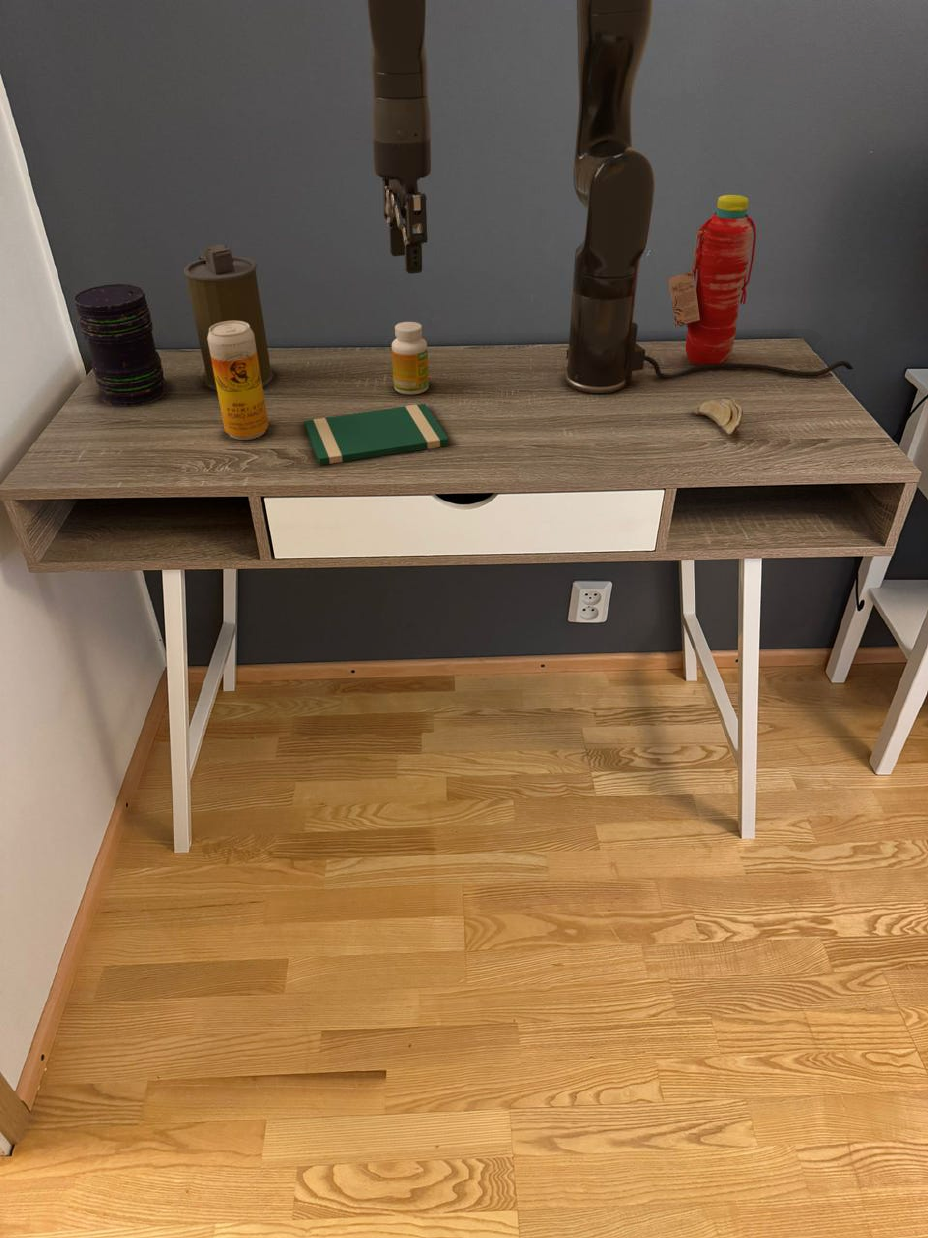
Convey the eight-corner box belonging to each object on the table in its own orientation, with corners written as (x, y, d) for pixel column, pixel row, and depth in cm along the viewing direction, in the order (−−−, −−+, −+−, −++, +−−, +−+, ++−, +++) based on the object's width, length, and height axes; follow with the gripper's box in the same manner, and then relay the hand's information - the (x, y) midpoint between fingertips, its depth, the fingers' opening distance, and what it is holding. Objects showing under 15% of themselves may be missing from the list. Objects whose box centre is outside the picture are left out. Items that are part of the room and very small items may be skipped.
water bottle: (665, 372, 141) (689, 203, 125) (655, 353, 147) (677, 190, 132) (740, 371, 141) (773, 202, 125) (727, 351, 147) (757, 189, 132)
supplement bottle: (424, 396, 134) (421, 333, 128) (390, 393, 135) (386, 331, 129) (432, 382, 138) (430, 320, 132) (399, 379, 139) (395, 318, 133)
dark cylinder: (104, 411, 131) (76, 310, 122) (97, 386, 138) (69, 289, 129) (172, 399, 134) (150, 300, 125) (162, 375, 141) (140, 280, 132)
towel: (425, 409, 131) (425, 402, 130) (449, 445, 122) (449, 438, 121) (304, 426, 127) (303, 420, 126) (319, 465, 118) (319, 458, 117)
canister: (284, 382, 139) (265, 249, 126) (221, 399, 134) (195, 262, 122) (255, 360, 146) (235, 232, 133) (195, 375, 141) (168, 244, 129)
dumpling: (702, 448, 130) (751, 438, 121) (683, 437, 128) (732, 426, 119) (714, 412, 130) (764, 399, 121) (696, 400, 129) (745, 386, 120)
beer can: (232, 445, 122) (212, 339, 113) (220, 427, 126) (200, 324, 117) (274, 435, 124) (258, 330, 115) (261, 419, 129) (245, 316, 119)
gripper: (445, 143, 111) (445, 276, 121) (414, 123, 121) (417, 247, 131) (387, 146, 109) (392, 281, 119) (361, 126, 119) (368, 251, 129)
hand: (405, 263), depth 125 cm, fingers open, 8 cm apart
